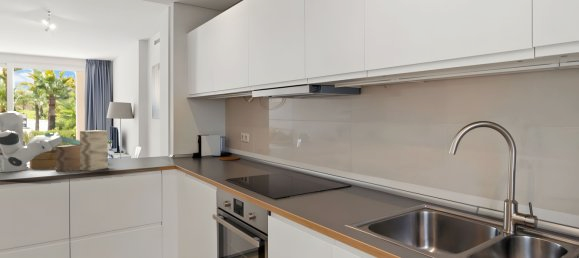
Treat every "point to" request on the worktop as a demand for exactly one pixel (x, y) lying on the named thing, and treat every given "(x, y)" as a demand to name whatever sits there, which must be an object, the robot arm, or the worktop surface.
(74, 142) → the batten
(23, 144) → the robot arm
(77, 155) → the low stand
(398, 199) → the worktop surface
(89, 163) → the tall stand
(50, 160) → the wooden planter box
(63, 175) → the worktop surface
